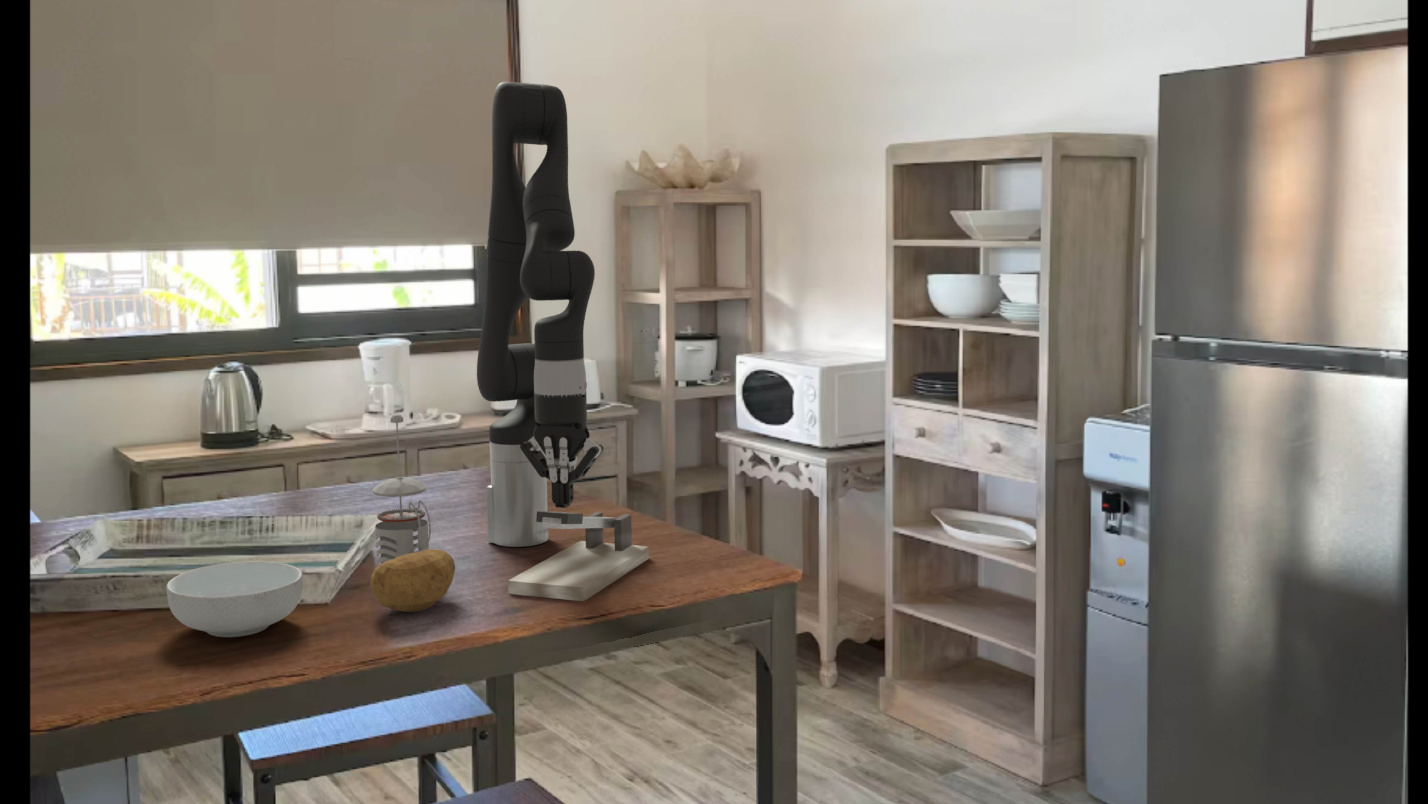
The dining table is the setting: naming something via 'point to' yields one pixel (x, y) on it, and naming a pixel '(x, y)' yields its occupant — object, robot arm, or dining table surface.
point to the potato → (413, 580)
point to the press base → (583, 565)
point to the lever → (572, 520)
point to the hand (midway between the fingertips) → (563, 506)
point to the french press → (401, 516)
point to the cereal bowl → (235, 596)
